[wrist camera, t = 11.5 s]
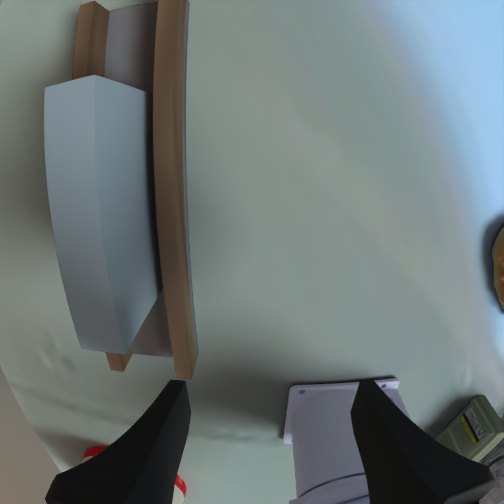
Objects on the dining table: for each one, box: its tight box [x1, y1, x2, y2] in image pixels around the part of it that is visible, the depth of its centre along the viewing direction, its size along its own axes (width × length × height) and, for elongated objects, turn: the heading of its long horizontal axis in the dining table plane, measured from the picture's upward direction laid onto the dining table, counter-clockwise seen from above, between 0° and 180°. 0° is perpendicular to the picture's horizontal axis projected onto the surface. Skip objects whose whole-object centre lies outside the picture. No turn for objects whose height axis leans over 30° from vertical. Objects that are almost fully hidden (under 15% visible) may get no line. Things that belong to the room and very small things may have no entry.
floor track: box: [72, 0, 198, 379], centre depth 17 cm, size 6×24×3 cm, turn 0°
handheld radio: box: [435, 395, 504, 462], centre depth 26 cm, size 7×3×25 cm
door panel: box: [44, 75, 163, 354], centre depth 15 cm, size 2×12×7 cm, turn 179°
